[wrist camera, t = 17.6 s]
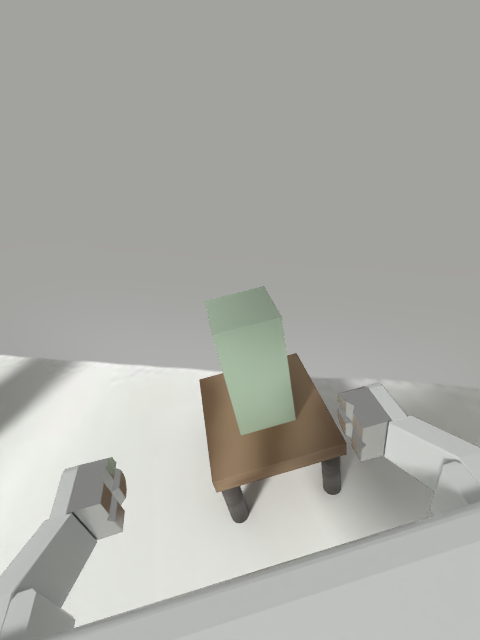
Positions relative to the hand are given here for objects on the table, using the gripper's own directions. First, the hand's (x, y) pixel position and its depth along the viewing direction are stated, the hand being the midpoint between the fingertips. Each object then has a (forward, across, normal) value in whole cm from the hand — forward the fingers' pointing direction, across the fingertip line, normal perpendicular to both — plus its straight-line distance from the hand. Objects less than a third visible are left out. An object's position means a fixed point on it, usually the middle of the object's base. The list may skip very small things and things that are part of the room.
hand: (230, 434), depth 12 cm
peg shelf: (+13, -3, +22) cm, 26 cm away
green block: (+13, -3, +14) cm, 20 cm away
